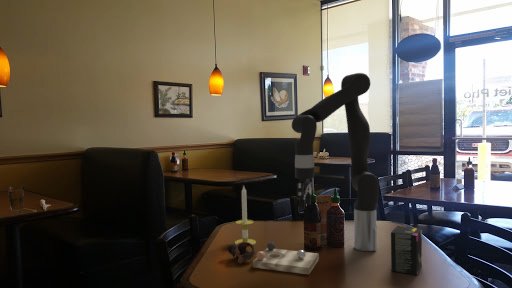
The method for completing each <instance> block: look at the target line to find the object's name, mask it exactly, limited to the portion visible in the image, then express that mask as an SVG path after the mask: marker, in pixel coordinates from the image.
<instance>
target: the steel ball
mask: <svg viewBox="0 0 512 288" xmlns="http://www.w3.org/2000/svg"><path fill="white" fill-rule="evenodd" d="M297 251H298V252H297V257H298V258H299V259H304V258H305V256H306V254H305V252H306V251H305V250H303V249H299V250H297Z"/></svg>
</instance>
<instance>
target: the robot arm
mask: <svg viewBox="0 0 512 288" xmlns="http://www.w3.org/2000/svg"><path fill="white" fill-rule="evenodd" d="M340 83H341V84H340V89H339V90H337V91H336V92H334V93H332V94H329V95H328V96H326V97H323V99H321V100H320V101H319V102H317V103H316V104H315V105H313V106H312V107H311V108H309V109H306V110H304V111H303V112H300V113H299V114H297V115H296V116H295V117H294V118H293V119H292V121H291V128H292V130H293V132H295V133H297V134H300V138H299V139H297V140H296V141H295V145H294V146H295V156H294V173H295V175H294V177H295V179H298V180H299V182H296V199H297V200H298V208H299V210H304V209H306V205H309V206H310V205H311V204H312V194H313V193H314V190H313V189H314V185H313V184H314V183H313V179H314V178H315V157H314V142H315V139H316V134H317V128H318V126H317V125H318V124H317V123H322V122H323V121H325V120H327V119H328V118H329V117H330V116H331V115H332V114H334V113H335V112H336V111H338V110H339V109H340V108H342V107H343V106H344V110H345V117H346V125H347V127H346V128H347V139H348V146H349V154H350V163H351V169H350V172H351V173H350V174H351V177H350V178H351V179H350V181H351V186H352V187H353V188H354V190H355V191H356V192H357V195H356V197H357V200H355V201H354V202H353V203H354V204H353V208H354V209H353V219H354V220H353V222H354V223H353V224H354V227H353V228H354V230H353V231H354V232H353V233H354V234H353V235H354V249H355V250H358V251H362V252H376V251H377V249H378V226H377V205H378V203H379V185H380V184H379V181H378V178H377V176H376V175H375V174H373V173H371V172H370V170H369V164H368V163H369V162H368V157H369V152H370V147H371V143H372V141H371V140H372V138H371V130H370V129H371V128H370V123H369V121H368V119H367V118H366V116H365V115H364V113H363V111H362V109H361V106H360V102H359V97H361V96H362V95H364V94H366V93H367V92H368V91H369V90H370V87H371V80H370V77H369V76H368V74H367V73H364V72H357V73H352V74H347V75H345V76H344V77H343V78H342V80H341V82H340Z"/></svg>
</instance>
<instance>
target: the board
mask: <svg viewBox="0 0 512 288" xmlns="http://www.w3.org/2000/svg"><path fill="white" fill-rule="evenodd" d="M298 251H299V250H289V249H282V248H281V249H280V248H275V249H274V250H269V249H268V248H266V249H264V250H263V252H264V253H265V258H264V259H263V260H258V259H257V257H256V258H255V259H253V261H252V268H257V269H262V270H264V269H265V270H272V271H279V272H287V273H292V274H293V273H294V274H301V275H302V274H303V275H310V273H311V272H312V271H313V269H314V268H315V266H316V265H317V263H318V261H319V260H320V257H319V256H320V255H319V253H317V252H315V253H314V252H307V251H304V252H305V254H306V256H305V258H304V259H299V258H298V257H297V252H298Z"/></svg>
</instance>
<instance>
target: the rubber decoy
mask: <svg viewBox="0 0 512 288" xmlns="http://www.w3.org/2000/svg"><path fill="white" fill-rule="evenodd" d="M266 247H267V248H268V249H269V250H274V249H276V244H275V243H274V242H273V241H269V242H268V243H267V245H266ZM267 248H266V249H267Z"/></svg>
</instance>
